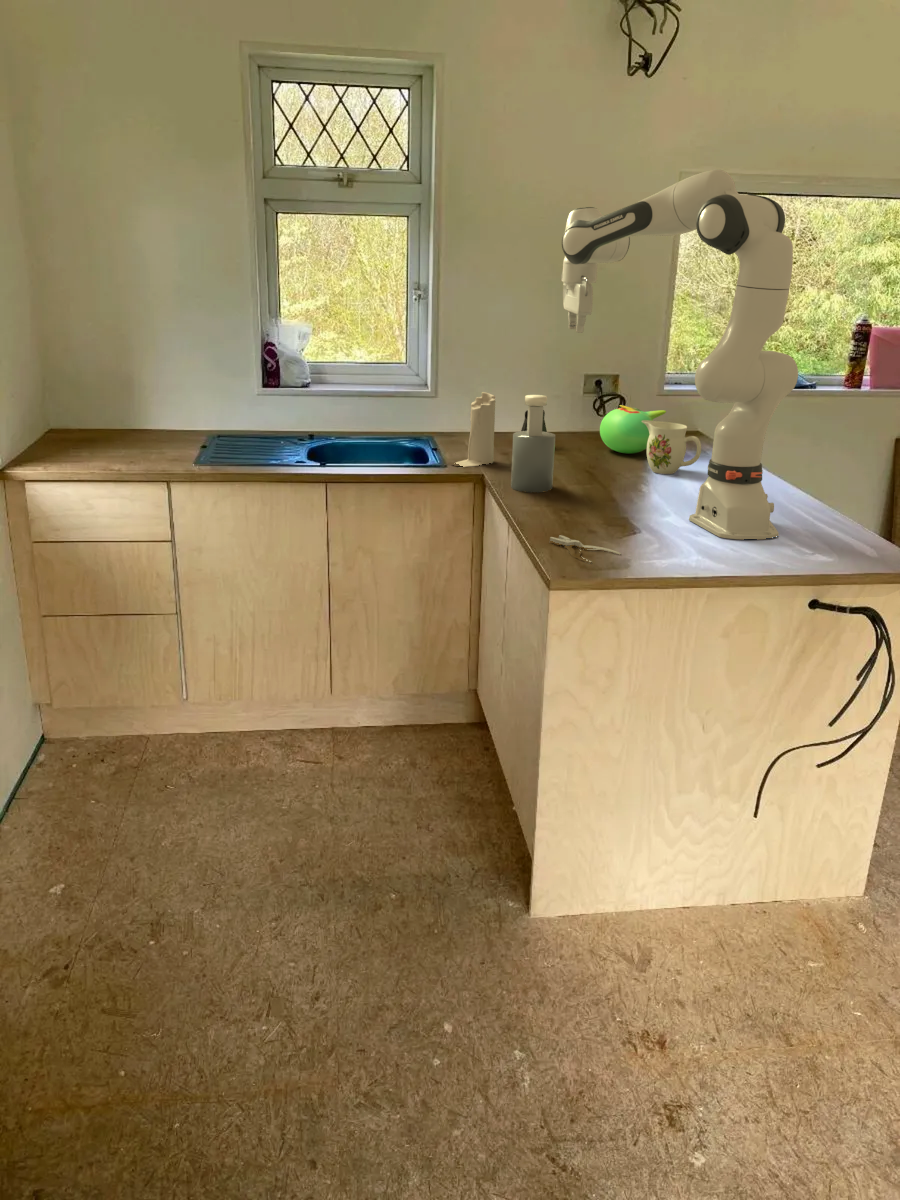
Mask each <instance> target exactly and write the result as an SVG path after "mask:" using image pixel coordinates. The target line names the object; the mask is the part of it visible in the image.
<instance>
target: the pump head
mask: <svg viewBox="0 0 900 1200" xmlns="http://www.w3.org/2000/svg"><path fill="white" fill-rule="evenodd" d="M524 405H525V406H528V405H529V406H533V407H539V406H543V407H544V406H547V405H548V396H547V395H544V394H543V395H542V394H527V395H525V396H524Z"/></svg>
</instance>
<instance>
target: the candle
mask: <svg viewBox="0 0 900 1200" xmlns="http://www.w3.org/2000/svg"><path fill="white" fill-rule="evenodd" d="M469 415H470V416H469V417H470V419H469V421H470V431H469V432H470V433H469V439H468V446H467V447H468V449H467V459H463V460H459V461H456V462H455V463H456V464H459V465H460V466H463V467H462V468H466V467H468V468H469V467H470V468H471V467H479V465H480V466H483V465H482V464H486V465H490V464H489V463H491V464H493V463H494V450H495V449H494V447H495V446H494V444H495V443H494V442H495V425H496V424H495V422H496V421H495V420H496V417H495V416H496V396H495V395H494V394H491V393H489V392H486V391H482V392H481V396H477V397H475V399H474V401H472V402H471V404H470V414H469Z"/></svg>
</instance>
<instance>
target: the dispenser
mask: <svg viewBox="0 0 900 1200" xmlns="http://www.w3.org/2000/svg"><path fill="white" fill-rule="evenodd" d="M527 410H528V419H527V431H521V430H520V431H516V432H513V433H512V453H511V472H510V473H511V476H510V479H511V480H510V488H511V489H512V490H515V491H518V492H522V491H524V492H523V493H532V492H537V493H544V492H543V491H546V492H549V491H548V490H550V489H552V490H553V482H554V466H555V465H554V463H555V449H556V448H555V447H556V434H555V433H553V432H548V431H547V432H543V431H542V423H543V410H544V406H539V407H533V406H529V405H527ZM525 491H526V492H525ZM550 491H551V490H550Z"/></svg>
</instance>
